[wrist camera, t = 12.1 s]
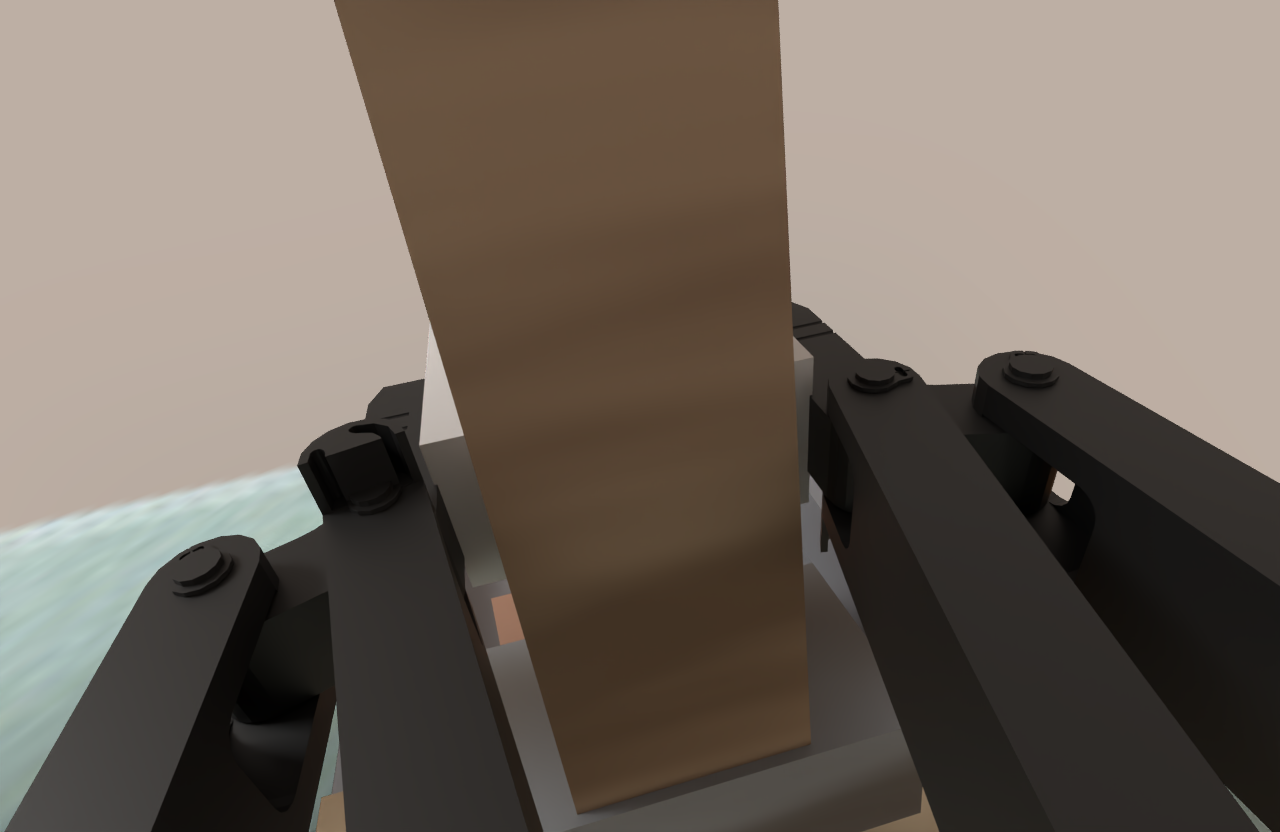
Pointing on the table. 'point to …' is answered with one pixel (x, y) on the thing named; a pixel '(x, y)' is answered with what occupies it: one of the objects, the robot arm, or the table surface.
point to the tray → (811, 554)
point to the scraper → (632, 403)
